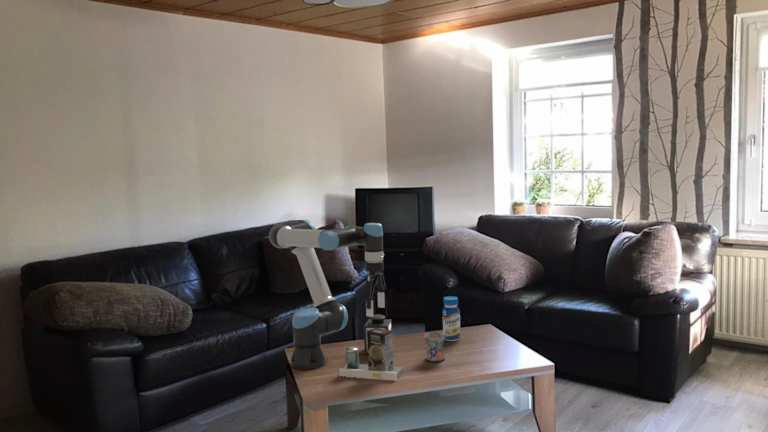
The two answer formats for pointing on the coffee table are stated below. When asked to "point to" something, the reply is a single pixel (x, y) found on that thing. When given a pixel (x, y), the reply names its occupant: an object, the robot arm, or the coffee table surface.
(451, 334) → the beverage bottle
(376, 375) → the shelf board
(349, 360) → the tea tin
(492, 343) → the coffee table surface
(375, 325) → the lantern
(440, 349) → the mug
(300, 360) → the robot arm
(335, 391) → the coffee table surface
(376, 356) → the coffee box
